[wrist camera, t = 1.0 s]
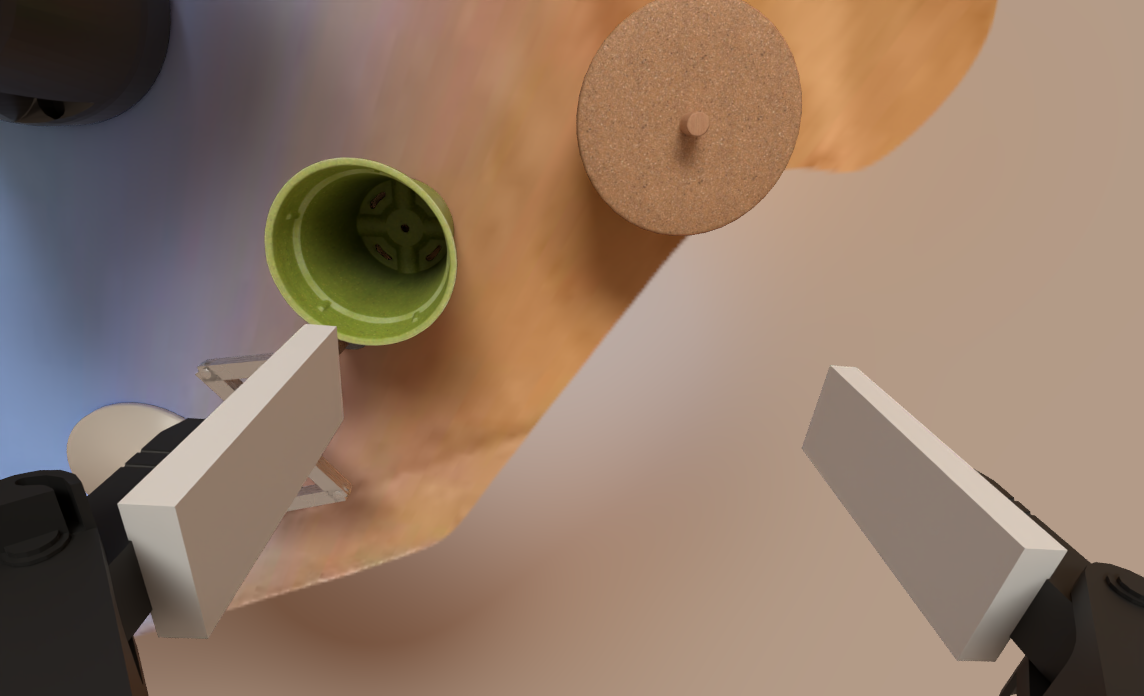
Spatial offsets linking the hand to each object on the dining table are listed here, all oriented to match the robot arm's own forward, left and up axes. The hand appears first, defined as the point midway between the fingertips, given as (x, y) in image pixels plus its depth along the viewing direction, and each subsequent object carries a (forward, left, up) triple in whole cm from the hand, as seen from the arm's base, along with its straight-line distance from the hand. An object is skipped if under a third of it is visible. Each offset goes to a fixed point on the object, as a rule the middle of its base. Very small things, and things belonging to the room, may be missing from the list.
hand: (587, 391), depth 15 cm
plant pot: (-9, -6, -23) cm, 25 cm away
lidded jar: (+1, +8, -23) cm, 24 cm away
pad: (-17, -33, -22) cm, 43 cm away
